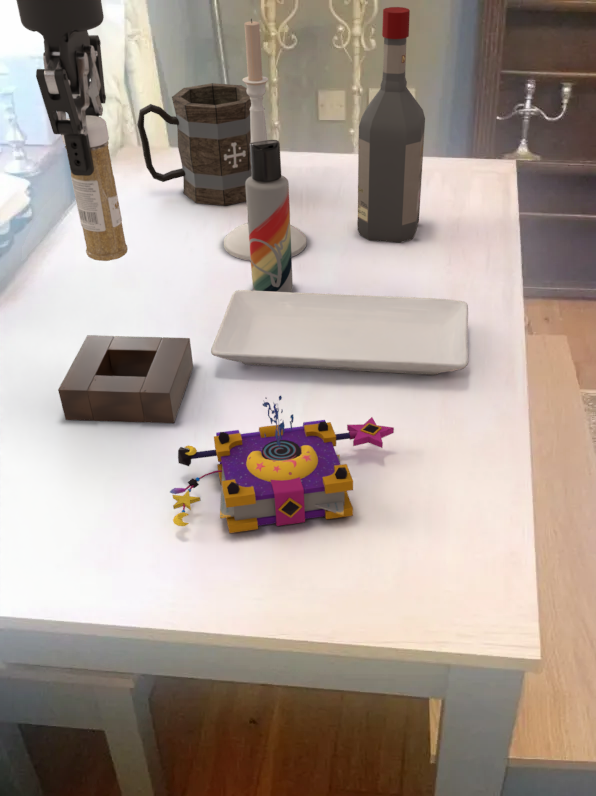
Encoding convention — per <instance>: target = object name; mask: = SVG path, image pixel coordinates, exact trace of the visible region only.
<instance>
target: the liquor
mask: <svg viewBox="0 0 596 796" xmlns="http://www.w3.org/2000/svg"><path fill="white" fill-rule="evenodd" d="M410 12H411V11H410V9H409V8H407V7H403V6H389V7H385V8H383V9H382V30H381V31H382V32H381V35H382V38H383V56H382V57H383V60H382V77H381V78H382V80H381V83H380V89H379V90H378V91H377V93H376V94H375V95H374V96H373V98H372V99H371V101H370V102H369V103H368V105H367V106H366V108H365V109H364V111H363V114H362V116H361V118H360V121H359V124H358V149H357V151H358V152H357V153H358V157H357V159H358V160H357V161H358V163H357V164H358V165H357V228H356V229H357V232H358V234H359V236H361V237H362V238H364V239H366V240H368V241H370V242H382V243H383V242H385V243H397V244H399V243H400V244H401V243H404V242H407V241H410V240H413V239H414V237H415V236H416V233H417V231H418V230H417V229H418V226H419V222H420V214H421V213H420V210H421V196H422V195H421V193H422V179H423V178H422V177H423V163H424V162H423V161H424V143H425V141H424V140H425V128H426V116H425V113H424V109H423V108H422V106H421V105H420V104H419V103H418V101H417V99H416V98H415V97H414V95H413V94H412V92H411V91H410V90H409V89H408V86H407V85H408V84H407V83H408V82H407V81H408V80H407V78H406V66H407V65H406V64H407V62H406V61H407V38H409V37H410V17H411V14H410Z"/></svg>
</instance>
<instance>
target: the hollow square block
mask: <svg viewBox="0 0 596 796" xmlns="http://www.w3.org/2000/svg"><path fill="white" fill-rule="evenodd" d="M193 369H194V361H193V354H192V344H191V338H190V337H167V336H166V337H164V336H132V335H130V336H129V335H99V334H98V335H97V334H93V335H92V334H87V335H86V337H85V339H84V340H83V343H82V344H81V346H80V348H79V350H78V351H77V354H76V355H75V356H74V359H73V361H72V363H71V365H70V367H69V369H68V370H67V373H66V374H65V376H64V378H63V380H62V382H61V384H60V385H59V388H58V389H57V391H58V395H59V399H60V403H61V407H62V412H63V415H64V419H65V420H66V421H88V422H90V421H92V422H94V421H95V422H115V423H116V422H119V423H154V424H174V423H175V422H176V418H177V416H178V413H179V410H180V407H181V404H182V401H183V398H184V395H185V392H186V390H187V387H188V384H189V381H190V378H191V375H192V372H193Z"/></svg>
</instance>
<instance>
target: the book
mask: <svg viewBox="0 0 596 796" xmlns="http://www.w3.org/2000/svg"><path fill="white" fill-rule="evenodd" d="M267 398H268V397H265V400H267ZM282 398H283V397H282V395H279V396H278V401H279V402H280V401H281V400H282ZM265 400H263V403H262V404H261V405H262V406H263V407H264V408H267V416H268V418H269V420H270V424H271V425H266V426H258V431H254V432H253V431H252V432H245V433H241V432H240V430H239V429H235V430H234V429H233V430H226V431H218V432H215V436H213V442H214V443H213V444H214V449H209V450H201V451H198V449H197V448H196V447H195V446H193V445H188V444H187V445H186V446H184V447H183V446H180V447H179V448H178V449H177V461H178V462H177V463H178V464H180V465H183V466H187V467H190V466H191V464H192V460H196V459H203V458H204V459H205V458H211V457H216V459H217V462H218V463H217V464H216V466H217V470H213V471H211V472H208V473H204V474H203V475H202V476H200V477H198V476H196V477H195V478H191V479H189V480H188V481H187V484H188V485H187V487H185V488H184V487H173V488H172V489H171V490H170V491H169V493H170V494H172V499H173V500H175V501H176V502H175V503H174V504H173V505H172V506H173V510H175V509H179V508H182V510H181V512H178V513H177V514H175V515H174V516H173V519H172V521H173V524H174V525H176V526H178V527H186V526H188V525H189V524H190V522H185V521H184V520H183V519H184V518H186V517H187V516H189V515H190V514H189V513H187V512H186V510H185V509H186V508H187V509H188V510H190V511H192V505H191V504H194V503H198V502H200V501H201V496H191V495H190V493H192V489H195V488H197V487H198V486H199V485H200V484H199V481H200V480H201V479H203V478H204V477H206V476H209V475H213V474H216V473H218V479H219V483H220V508H219V519H225V518H226V519H225V520H226V523H227V528H228V534H233V533H240V532H247V531H253V530H254V531H255V530H259V526H265V525H272V524H275V526H276V527H280V526H286V525H294V524H301V523H305V522H306V520H308V519H314V518H323V517H325V520H330V519H331V520H332V519H338V518H346V517H353V516H354V507H353V505H352V502H351V499H350V496H349V494H348V492H350V491H354V479H353V477H352V474H351V472H350V469H349V466H348V464H347V463H344V464H341V455H340V454H338V453H336V449H335V447H337V441H344V440H350V441H351V440H353V441H352V447H357V446H361V445H364V444H371V445H373V446H375V447H379V448H381V449H383V447H384V444H383V443H384V442H383V438H386V437H387V436H390V435H393V434H394V433H395V427H394V426H385V425H377V423H376V422H375V419H374V418H373V416H371V417H370V418H369V419H368V420H366V421H365V422H364V423H363V424H361V423H359V424H347V425H346V431H348V432H341V433H336V432H335V430H334V427H333V425H332V422H330V421H326V420H325V419H320V420H313V421H303V423H302V425H301V426H293V423H294V419H295V418H294V417H295V416H294V414H291V415H290V417H289V418H290V421H289V425H290V427H285V426H286V425H285V421H284V419H279V411H280V407H279V403H278V402H277V403H275V402H274V401H273V402H272V403H273V407H272V408H273V410H272V408H271V404H270V402H268V401H265ZM276 407H277V408H276ZM270 411H271V414H272V415H274V416H273V417H271V416H270ZM280 414H283V409H281V412H280ZM280 421H282V422H281V423H280ZM273 423H274V425H273ZM183 493H184V494H183ZM178 494H179V495H178ZM180 494H182V495H180Z"/></svg>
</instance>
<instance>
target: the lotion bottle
mask: <svg viewBox="0 0 596 796" xmlns="http://www.w3.org/2000/svg"><path fill="white" fill-rule="evenodd" d="M280 144H281V143H280V141H279V140H278V139H267V140H266V141H260V142H253V143H250V158H251V175H252V176H251V177H249V178H248V179H247V180H246V183H245V186H246V201H245V202H246V213H247V223H248V229H249V243H250V257H251V261H250V269H251V282H252V283H251V284H252V290H253V291H272V292H292V291H293V286H294V285H293V259H292V258H293V256H292V255H291V230H290V225H291V208H290V206H291V205H290V187H289V179H288V178H287V177H286V176H284V175H283V174H282V164H281V163H282V161H281V145H280Z"/></svg>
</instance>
